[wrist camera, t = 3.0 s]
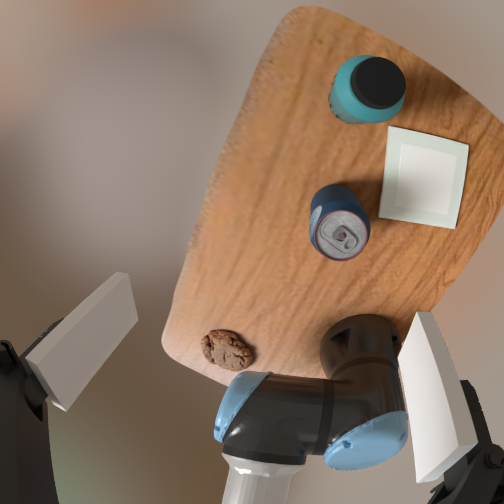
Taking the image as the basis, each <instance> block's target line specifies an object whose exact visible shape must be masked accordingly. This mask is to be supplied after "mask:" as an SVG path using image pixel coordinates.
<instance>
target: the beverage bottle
mask: <svg viewBox="0 0 504 504" xmlns="http://www.w3.org/2000/svg"><path fill="white" fill-rule="evenodd" d="M335 77H336V78H335ZM335 77H334V78H335V81H334V83H333V84H332V85H333V87H332V86H331V87H332V89H331V88H330V89H331V92H330V97H329V99H328V100H329V102H330V108H331V109H332V111H333V112H334V114H335V117H337V118H339V119H340V120H342V121H344V122H347V123H348V124H349V123H350V124H361V125H363V124H362V123H368V122H370V123H379V122H384V121H387V120H389V119H391V118H392V117H394V116H395V115H396V114H397V113H398V112H399V111H400V109H401V107H402V105H403V103H404V98H405V88H406V83H405V78H404V75H403V73H402V72H401V70H400V69H399V67H398V66H397V65H395V64H394V63H393V62H391V61H390V60H388V59H385V58H382V57H375V56H370V55H361V56H356V57H353V58H351V59H349V60H347V61H346V62H345V63H344V64H343V65H342V66H341V67H340V69H339V70H338V72H337V74H336V76H335ZM347 123H346V124H347Z"/></svg>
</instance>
